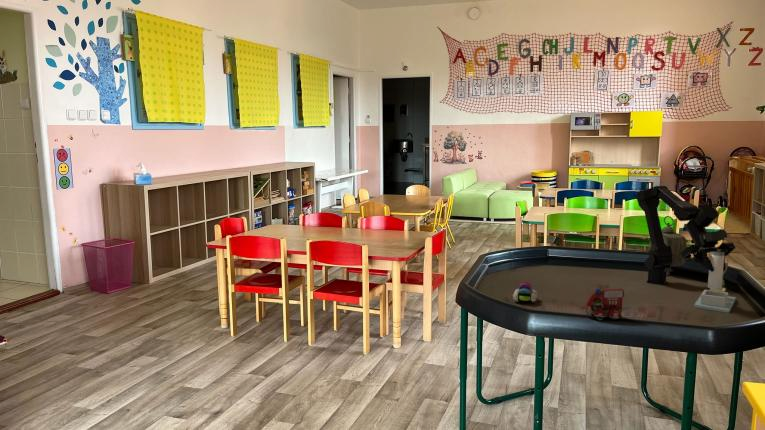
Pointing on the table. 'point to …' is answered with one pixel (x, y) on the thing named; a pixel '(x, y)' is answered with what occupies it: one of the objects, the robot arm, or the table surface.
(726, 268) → the snail figurine
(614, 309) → the toy fire truck
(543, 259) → the table surface
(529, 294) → the multicoloured small toy
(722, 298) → the fitting board
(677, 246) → the tabletop clock
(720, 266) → the white cylinder
